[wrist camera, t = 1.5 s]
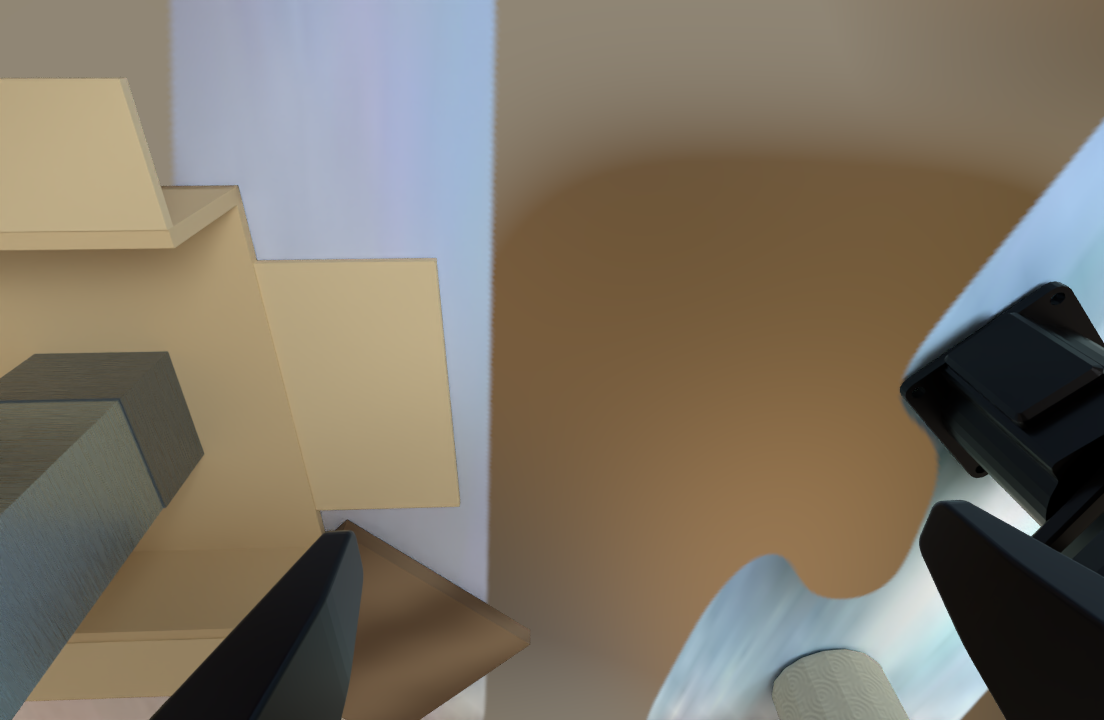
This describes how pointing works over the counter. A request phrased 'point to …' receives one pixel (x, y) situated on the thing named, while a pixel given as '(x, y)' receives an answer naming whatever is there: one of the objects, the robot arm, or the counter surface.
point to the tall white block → (836, 689)
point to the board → (418, 637)
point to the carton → (211, 374)
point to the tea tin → (78, 491)
